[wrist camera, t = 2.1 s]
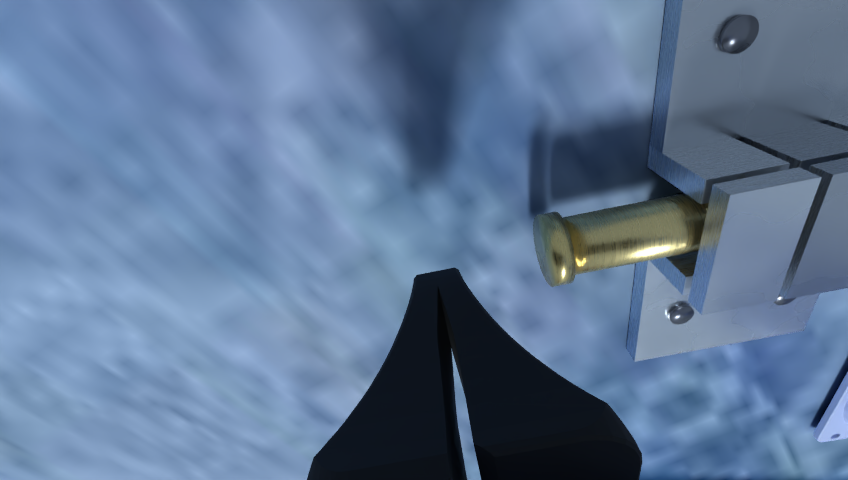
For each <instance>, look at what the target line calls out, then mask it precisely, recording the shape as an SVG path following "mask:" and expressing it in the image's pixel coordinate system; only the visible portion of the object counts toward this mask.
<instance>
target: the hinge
mask: <svg viewBox="0 0 848 480" xmlns="http://www.w3.org/2000/svg"><path fill="white" fill-rule="evenodd" d="M647 167H648V168H650V169H651V170H653V171H654V172H656V173H657V174H658V175H660V176H661V177H663V178H664V179H665V180H667V181H668V182H670V183H671V184H673V185H674V186H675V187H677V188H678V189H680V190H681V191H683V192H684V193H685V194H687V195H688V196H690V197H691V198H693V199H694V200H695V201H697V202H698V203H700V204H705V203H709V204H708V209H707V214H706V218H705V223H704V228H703V232H702V237H701V242H700V247H699V251H696V252H690V253H685V254H680V255H675V256H670V257H665V258H659V259H654V260H649V261H644V262H639V263H636V268H635V277H634V285H633V294H632V303H631V312H630V320H629V329H628V338H627V347H626V349H627V351H628V352H629V354H630V355H631V357H632V358H633V360H634V361H641V360H646V359H652V358H657V357H662V356H668V355H673V354H679V353H684V352H690V351H695V350H701V349H706V348H712V347H717V346H722V345H728V344H733V343H739V342H744V341H750V340H755V339H761V338H766V337H772V336H777V335H782V334H788V333H793V332H799V331H804V328H805V326H806V324H807V322H808V319H809V317H810V315H811V312H812V310H813V308H814V306H815V303H816V301H817V299H818V296H819V294H820V293H823V292H828V291H833V290H839V289H844V288H848V0H666V6H665V14H664V23H663V32H662V40H661V49H660V58H659V67H658V75H657V84H656V93H655V102H654V110H653V119H652V128H651V137H650V145H649V154H648V163H647Z"/></svg>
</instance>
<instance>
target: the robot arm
mask: <svg viewBox="0 0 848 480" xmlns="http://www.w3.org/2000/svg"><path fill="white" fill-rule="evenodd" d="M451 348H452V351H453V355H454V358H455V362H456V365H457V369H458V372H459V376H460V379H461V383H462V386H463V390H464V393H465V397H466V403H467V408H468V414H469V420H470V425H471V431H472V437H473V442H474V447H475V452H476V457H477V461H478V466H479V470H480V475H481V480H639V476H640V471H641V465H642V453H641V451H640V450H639V448H638V445H637V443H636V442H635V440H634V438H633V437H632V435H631V434H630V432H629V431H628V429H627V428H626V427H625V425H624V424H623V422H622V421H621V420H620V418H619V417H618V416H617V415H616V413H615V412H614V411H613V410H612V408H611V407H610V406H609V405H608V404H607V403H605V402H604V401H602V400H600V399H598V398H596V397H595V396H593V395H591V394H589V393H587V392H586V391H584V390H582V389H581V388H579V387H577V386H576V385H574V384H572V383H571V382H569V381H568V380H566V379H565V378H563V377H562V376H560V375H559V374H557V373H556V372H554V371H553V370H552V369H550V368H549V367H548V366H546V365H545V364H543V363H542V362H541V361H539V360H538V359H537V358H535V357H534V356H533V355H531V354H530V353H529V352H528V351H527V350H525V349H524V348H523V347H522V346H521V345H519V344H518V343H517V342H516V341H515V340H514V339H513V338H512V337H511V336H510V335H508V334H507V333H506V332H505V331H504V330H503V329H502V328H501V327H500V326H499V325H498V323H497V322H496V321H495V320H494V319H493V318H492V317H491V316H490V315H489V314H488V312H487V311H486V310H485V309H484V308H483V306H482V305H481V304H480V303H479V301H478V300H477V299H476V298H475V296H474V295H473V294H472V292H471V291H470V289H469V288H468V286H467V285H466V283H465V282H464V280H463V278H462V276H461V274H460V272H459V270H458V269H456V268H450V269H445V270H440V271H435V272H430V273H425V274H420V275H417V276H416V277H415V278H414V283H413V289H412V293H411V297H410V300H409V304H408V307H407V310H406V313H405V316H404V319H403V322H402V324H401V327H400V329H399V332H398V334H397V336H396V339H395V341H394V343H393V346H392V348H391V350H390V352H389V354H388V356H387V358H386V360H385V362H384V363H383V365H382V367H381V369H380V371H379V372H378V374H377V376H376V377H375V379H374V381H373V382H372V384H371V386H370V387H369V389H368V390H367V392H366V393H365V395H364V396H363V398H362V399H361V401H360V402H359V403H358V405H357V406H356V407H355V409H354V410H353V411H352V413H351V414H350V415H349V417H348V418H347V419H346V421H345V422H344V423H343V425H342V426H341V427H340V428H339V429H338V431H337V432H336V433H335V434H334V435H333V436H332V437H331V439H330V440H329V441H328V442H327V443H326V444H325V445H324V447H323V448H322V449H321V450H320V451H319V452H318V453H317V454H316V456H315V457H314V459H313V461H312V465H311V468H310V471H309V474H308V478H307V480H467V477H466V471H465V465H464V459H463V453H462V447H461V441H460V435H459V430H458V423H457V414H456V403H455V390H454V377H453V364H452V351H451ZM813 436H814V437H815V438H816V439H817V440H818V441H819V442H827V441H833V440H839V439H844V438H848V372H847V374H846V376H845V377H844V379H843V381H842V383H841V385H840V386H839V388H838V390H837V392H836V393H835V395H834V397H833V399H832V401H831V402H830V404H829V406H828V408H827V409H826V411H825V413H824V415H823V417H822V418H821V420H820V422H819V424H818V426H817V427H816V429H815V431H814V433H813Z"/></svg>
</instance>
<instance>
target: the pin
mask: <svg viewBox="0 0 848 480" xmlns="http://www.w3.org/2000/svg"><path fill="white" fill-rule="evenodd" d="M708 204H709V203H705V204H700V203H698V202H697V201H695V200H694V199H693V198H691V197H690V196H688V195H687V194H685V193H683V194H678V195H673V196H668V197H663V198H658V199H653V200H648V201H643V202H638V203H633V204H628V205H623V206H618V207H613V208H608V209H603V210H598V211H593V212H588V213H583V214H578V215H573V216H568V217H563V218H562V217H561V215H560V214H559V213H558V212H550V213H545V214H540V215H536V216H535V218H534V222H533V235H534V244H535V249H536V254H537V258H538V262H539V265H540V268H541V271H542V273H543V276H544V278H545V280H546V281H547V283H548V284H549V285H550V286H552V287H554V286H559V285H564V284H569V283H572V282H573V280H574V278H575V275H576V274H582V273H587V272H592V271H597V270H602V269H607V268H613V267H618V266H623V265H628V264H633V263H639V262H644V261H649V260H654V259H659V258H665V257H670V256H675V255H680V254H685V253H690V252H696V251H699V247H700V242H701V237H702V232H703V228H704V223H705V218H706V214H707V209H708Z"/></svg>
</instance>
